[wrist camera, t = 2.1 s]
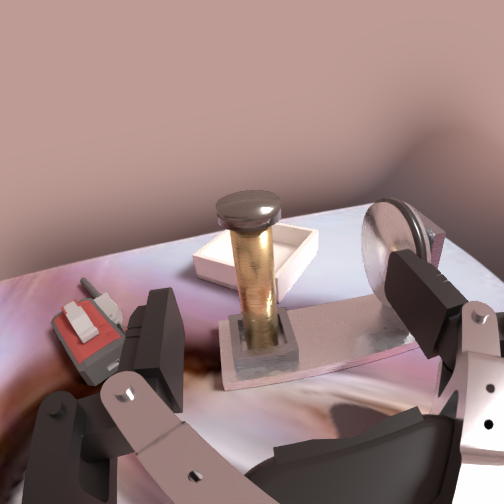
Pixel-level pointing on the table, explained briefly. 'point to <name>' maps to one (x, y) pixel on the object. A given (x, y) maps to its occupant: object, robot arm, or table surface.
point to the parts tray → (285, 257)
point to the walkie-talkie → (91, 334)
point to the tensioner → (337, 312)
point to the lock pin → (254, 260)
